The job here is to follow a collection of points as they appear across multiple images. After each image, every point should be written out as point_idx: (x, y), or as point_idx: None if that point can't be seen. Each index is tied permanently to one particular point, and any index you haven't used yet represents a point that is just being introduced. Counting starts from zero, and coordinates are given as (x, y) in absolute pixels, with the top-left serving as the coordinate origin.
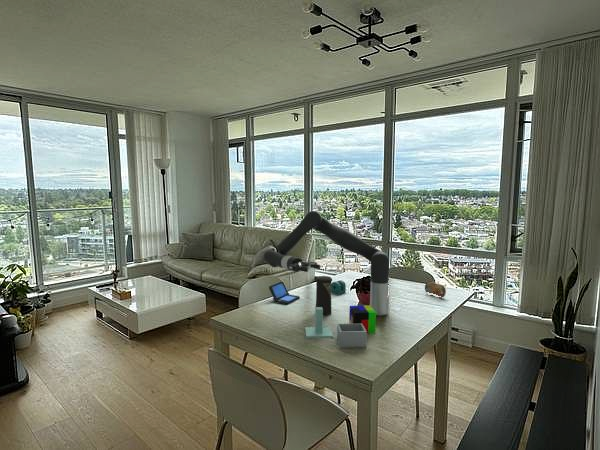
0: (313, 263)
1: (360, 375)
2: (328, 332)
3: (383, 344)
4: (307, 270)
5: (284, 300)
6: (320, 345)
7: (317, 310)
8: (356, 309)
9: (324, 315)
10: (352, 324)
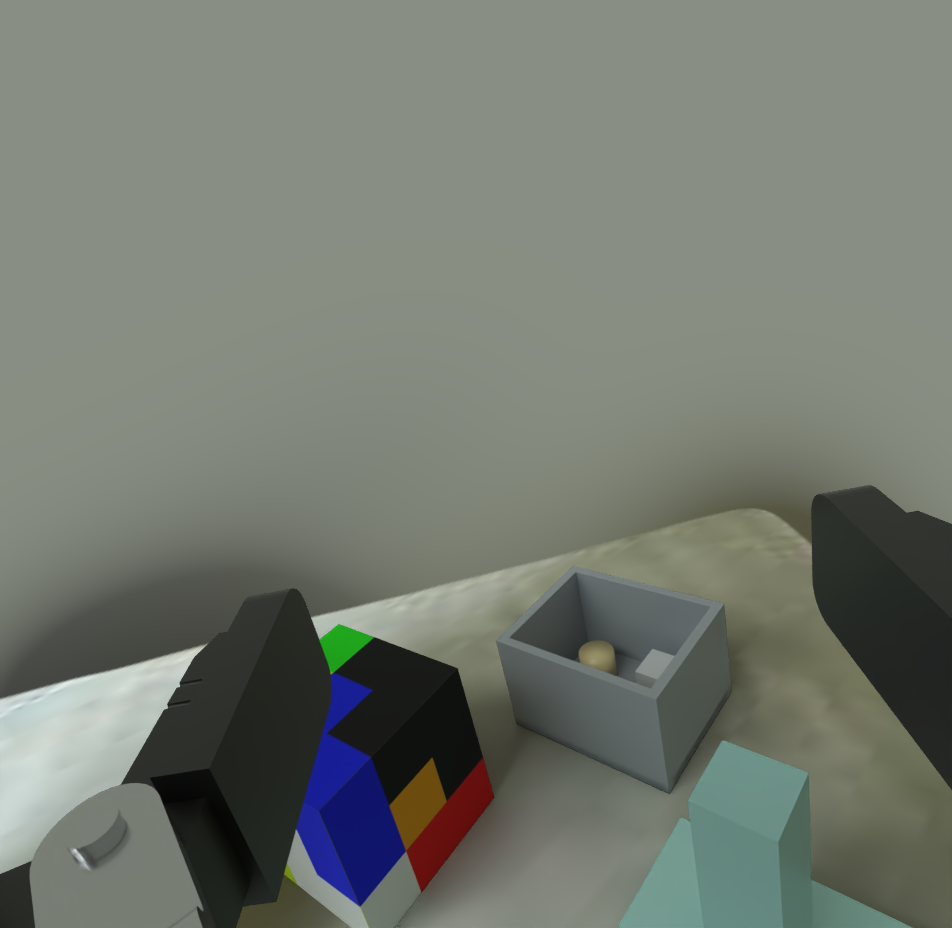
0: (135, 836)
1: (782, 522)
2: (679, 891)
3: (481, 637)
4: (824, 561)
5: None
6: (855, 773)
7: (787, 774)
8: (374, 712)
9: None
10: (558, 657)
